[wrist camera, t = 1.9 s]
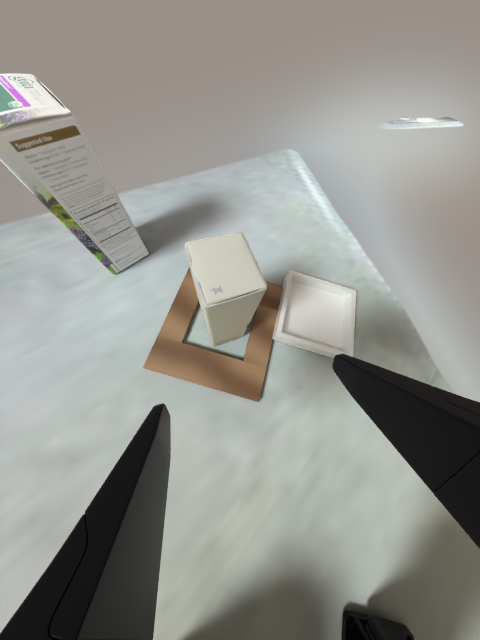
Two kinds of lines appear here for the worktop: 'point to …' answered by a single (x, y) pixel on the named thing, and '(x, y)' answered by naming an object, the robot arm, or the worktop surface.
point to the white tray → (316, 315)
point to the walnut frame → (209, 365)
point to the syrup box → (64, 171)
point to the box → (225, 284)
